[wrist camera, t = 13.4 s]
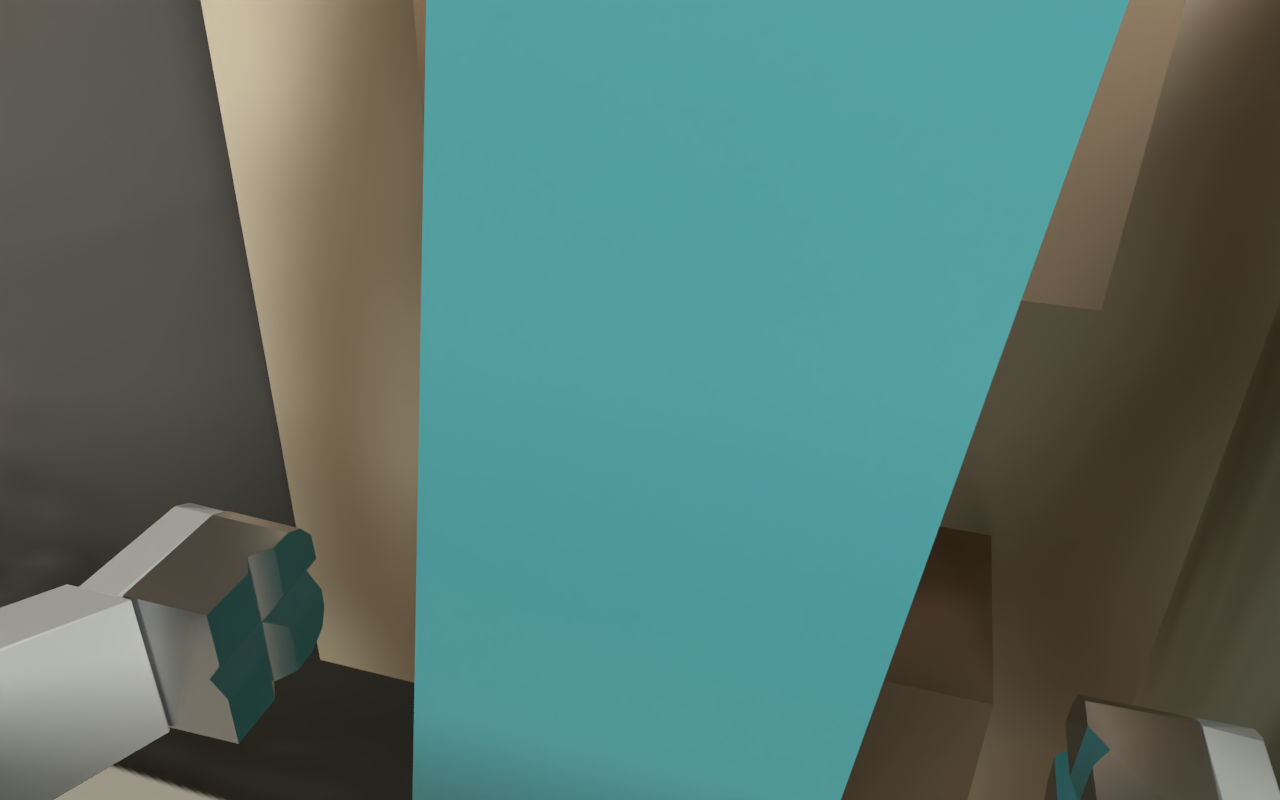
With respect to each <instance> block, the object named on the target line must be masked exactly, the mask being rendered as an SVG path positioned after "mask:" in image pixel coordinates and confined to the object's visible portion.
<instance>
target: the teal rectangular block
mask: <svg viewBox="0 0 1280 800" xmlns="http://www.w3.org/2000/svg"><path fill="white" fill-rule="evenodd" d="M1128 2H1129V0H426V43H425V101H424V159H423V217H422V275H421V333H420V391H419V449H418V507H417V565H416V622H415V680H414V738H413V796H412V800H841V798H842V795H843V793H844V790H845V787H846V784H847V781H848V779H849V776H850V773H851V770H852V768H853V765H854V762H855V759H856V757H857V754H858V751H859V748H860V745H861V743H862V740H863V737H864V734H865V732H866V729H867V726H868V723H869V720H870V718H871V715H872V712H873V709H874V707H875V704H876V701H877V698H878V696H879V693H880V690H881V687H882V684H883V682H884V679H885V676H886V673H887V671H888V668H889V665H890V662H891V659H892V657H893V654H894V651H895V648H896V646H897V643H898V640H899V637H900V635H901V632H902V629H903V626H904V623H905V621H906V618H907V615H908V612H909V610H910V607H911V604H912V601H913V598H914V596H915V593H916V590H917V587H918V585H919V582H920V579H921V576H922V574H923V571H924V568H925V565H926V562H927V560H928V557H929V554H930V551H931V549H932V546H933V543H934V540H935V537H936V535H937V532H938V529H939V526H940V524H941V521H942V518H943V515H944V513H945V510H946V507H947V504H948V501H949V499H950V496H951V493H952V490H953V488H954V485H955V482H956V479H957V477H958V474H959V471H960V468H961V465H962V463H963V460H964V457H965V454H966V452H967V449H968V446H969V443H970V440H971V438H972V435H973V432H974V429H975V427H976V424H977V421H978V418H979V416H980V413H981V410H982V407H983V404H984V402H985V399H986V396H987V393H988V391H989V388H990V385H991V382H992V379H993V377H994V374H995V371H996V368H997V366H998V363H999V360H1000V357H1001V355H1002V352H1003V349H1004V346H1005V343H1006V341H1007V338H1008V335H1009V332H1010V330H1011V327H1012V324H1013V321H1014V318H1015V316H1016V313H1017V310H1018V307H1019V305H1020V302H1021V299H1022V296H1023V294H1024V291H1025V288H1026V285H1027V282H1028V280H1029V277H1030V274H1031V271H1032V269H1033V266H1034V263H1035V260H1036V257H1037V255H1038V252H1039V249H1040V246H1041V244H1042V241H1043V238H1044V235H1045V233H1046V230H1047V227H1048V224H1049V221H1050V219H1051V216H1052V213H1053V210H1054V208H1055V205H1056V202H1057V199H1058V197H1059V194H1060V191H1061V188H1062V185H1063V183H1064V180H1065V177H1066V174H1067V172H1068V169H1069V166H1070V163H1071V160H1072V158H1073V155H1074V152H1075V149H1076V147H1077V144H1078V141H1079V138H1080V136H1081V133H1082V130H1083V127H1084V124H1085V122H1086V119H1087V116H1088V113H1089V111H1090V108H1091V105H1092V102H1093V99H1094V97H1095V94H1096V91H1097V88H1098V86H1099V83H1100V80H1101V77H1102V75H1103V72H1104V69H1105V66H1106V63H1107V61H1108V58H1109V55H1110V52H1111V50H1112V47H1113V44H1114V41H1115V38H1116V36H1117V33H1118V30H1119V27H1120V25H1121V22H1122V19H1123V16H1124V14H1125V11H1126V8H1127V5H1128Z"/></svg>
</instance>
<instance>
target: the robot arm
mask: <svg viewBox="0 0 1280 800" xmlns="http://www.w3.org/2000/svg"><path fill="white" fill-rule="evenodd" d="M315 560H316V555H315V550H314V546H313V541H312V537H311V535H310V534H309V533H307V532H305V531H304V530H302V529H300V528H296V527H292V526H288V525H284V524H280V523H276V522H271V521H267V520H263V519H259V518H255V517H251V516H247V515H242V514H238V513H234V512H230V511H221V510H217V509H213V508H209V507H205V506H201V505H197V504H193V503H186V504H182V505H178V506H175V507H173V508H172V509H171V510H170V511H169V512H167V513H166V514H165V515H164V516H163V517H161V518H160V519H159V520H158V521H157V522H155V523H154V524H153V525H152V526H151V527H150V528H148V529H147V530H146V531H145V532H144V533H142V534H141V535H140V536H139V537H138V538H136V539H135V540H134V541H133V542H132V543H130V544H129V545H128V546H127V547H126V548H125V549H123V550H122V551H121V552H120V553H119V554H117V555H116V556H115V557H114V558H113V559H111V560H110V561H109V562H108V563H107V564H105V565H104V566H103V567H102V568H101V569H99V570H98V571H97V572H96V573H95V574H94V575H92V576H91V577H90V578H89V579H88V580H86V581H85V582H84V583H83V584H82V585H80V586H79V587H77V586H72V585H68V584H66V585H64V586H61V587H58V588H55V589H52V590H49V591H47V592H44V593H41V594H38V595H35V596H32V597H30V598H27V599H24V600H21V601H18V602H15V603H13V604H10V605H7V606H4V607H1V608H0V800H53V799H55V798H57V797H59V796H60V795H62V794H64V793H65V792H67V791H69V790H71V789H72V788H74V787H76V786H77V785H79V784H81V783H83V782H84V781H86V780H88V779H89V778H91V777H93V776H95V775H96V774H98V773H100V772H101V771H103V770H105V769H107V768H108V767H110V766H112V765H113V764H115V763H117V762H119V761H120V760H122V759H124V758H125V757H127V756H129V755H131V754H132V753H134V752H136V751H137V750H139V749H141V748H143V747H144V746H146V745H148V744H149V743H151V742H153V741H155V740H156V739H158V738H160V737H161V736H163V735H165V734H167V733H168V732H169V731H170V729H169V727H170V728H175V729H179V730H183V731H187V732H191V733H195V734H200V735H204V736H208V737H212V738H216V739H220V740H225V741H229V742H233V743H237V744H239V743H240V742H241V740H242V739H243V738H244V737H245V736H246V734H247V733H248V732H249V731H250V729H251V728H252V727H253V726H254V724H255V723H256V722H257V721H258V720H259V718H260V717H261V716H262V715H263V713H264V712H265V711H266V710H267V708H268V707H269V706H270V705H271V704H272V702H273V701H274V700H275V684H274V682H275V681H277V680H279V679H281V678H283V677H285V676H287V675H289V674H291V673H294V672H296V671H298V670H299V669H300V667H301V666H302V665H303V663H304V662H305V661H306V660H307V658H308V657H309V656H310V654H311V653H312V652H313V650H314V647H315V645H316V642H317V640H318V637H319V635H320V632H321V630H322V627H323V617H324V601H323V594H322V589H321V588H320V587H319V586H318V584H317V583H316V582H315V581H314V579H313V578H312V577H311V576H310V574H309V573H308V572H307V570H308V569H309V568H310V566H311V565H312V564H313V562H314V561H315ZM1065 725H1066V738H1067V750H1065V751H1063V752H1062V753H1060V754H1058V755H1056V756H1055V757H1054V760H1053V763H1052V767H1051V770H1050V774H1049V777H1048V781H1047V787H1046V793H1045V799H1044V800H1280V790H1279V787H1278V784H1277V781H1276V778H1275V774H1274V771H1273V768H1272V765H1271V762H1270V759H1269V755H1268V752H1267V749H1266V746H1265V743H1264V740H1263V738H1262V737H1261V736H1260V734H1259V733H1258V732H1257V731H1256V730H1255V729H1252V728H1247V727H1242V726H1237V725H1232V724H1226V723H1221V722H1216V721H1211V720H1206V719H1201V718H1196V717H1195V718H1193V719H1192V718H1190V717H1187V716H1182V715H1178V714H1173V713H1168V712H1163V711H1158V710H1153V709H1148V708H1144V707H1139V706H1134V705H1129V704H1124V703H1119V702H1114V701H1110V700H1105V699H1100V698H1095V697H1090V696H1085V695H1080V694H1078V695H1077V697H1076V699H1075V700H1074V702H1073V703H1072V705H1071V708H1070V711H1069V714H1068V717H1067V720H1066V723H1065Z"/></svg>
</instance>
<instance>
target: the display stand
mask: <svg viewBox="0 0 1280 800" xmlns="http://www.w3.org/2000/svg"><path fill="white" fill-rule="evenodd" d="M201 6H202V11H203V17H204V22H205V28H206V33H207V39H208V44H209V50H210V55H211V61H212V66H213V72H214V77H215V83H216V88H217V94H218V99H219V105H220V110H221V116H222V121H223V127H224V132H225V138H226V143H227V149H228V154H229V160H230V165H231V171H232V176H233V182H234V187H235V193H236V198H237V204H238V209H239V215H240V220H241V226H242V231H243V237H244V242H245V248H246V253H247V259H248V264H249V270H250V276H251V281H252V287H253V292H254V298H255V303H256V309H257V314H258V320H259V325H260V331H261V336H262V342H263V347H264V353H265V358H266V364H267V369H268V375H269V380H270V386H271V391H272V397H273V402H274V408H275V413H276V419H277V424H278V430H279V435H280V441H281V446H282V452H283V457H284V463H285V468H286V474H287V479H288V485H289V490H290V496H291V501H292V507H293V512H294V518H295V523H296V528H300V529H302V530H304V531H305V532H307V533H309V534H310V535H311V537H312V541H313V546H314V550H315V555H316V560H315V561H314V562H313V564H312V565H311V566H310V568H309V569H308V570H307V572H308V573H309V574H310V576H311V577H312V578H313V579H314V581H315V582H316V583H317V584H318V586H319V587H320V588H321V589H322V594H323V601H324V617H323V627H322V630H321V632H320V635H319V637H318V640H317V645H318V650H319V656H320V660H324V661H328V662H332V663H336V664H340V665H344V666H348V667H352V668H356V669H360V670H364V671H368V672H373V673H377V674H381V675H385V676H389V677H393V678H397V679H401V680H405V681H409V682H413V683H414V680H415V622H416V565H417V507H418V449H419V391H420V333H421V275H422V217H423V159H424V101H425V43H426V0H201ZM1078 694H1080V695H1085V696H1090V697H1095V698H1100V699H1105V700H1110V701H1114V702H1119V703H1124V704H1129V705H1134V706H1139V707H1144V708H1148V709H1153V710H1158V711H1163V712H1168V713H1173V714H1178V715H1182V716H1187V717H1190V718H1192V719H1193V718H1195V717H1196V718H1201V719H1206V720H1211V721H1216V722H1221V723H1226V724H1232V725H1237V726H1242V727H1247V728H1252V729H1255V730H1256V731H1257V732H1258V733H1259V734H1260V736H1261V737H1262V738H1263V740H1264V743H1265V746H1266V749H1267V752H1268V755H1269V759H1270V762H1271V765H1272V768H1273V771H1274V774H1275V778H1276V781H1277V784H1278V787H1279V790H1280V0H1129V2H1128V5H1127V8H1126V11H1125V14H1124V16H1123V19H1122V22H1121V25H1120V27H1119V30H1118V33H1117V36H1116V38H1115V41H1114V44H1113V47H1112V50H1111V52H1110V55H1109V58H1108V61H1107V63H1106V66H1105V69H1104V72H1103V75H1102V77H1101V80H1100V83H1099V86H1098V88H1097V91H1096V94H1095V97H1094V99H1093V102H1092V105H1091V108H1090V111H1089V113H1088V116H1087V119H1086V122H1085V124H1084V127H1083V130H1082V133H1081V136H1080V138H1079V141H1078V144H1077V147H1076V149H1075V152H1074V155H1073V158H1072V160H1071V163H1070V166H1069V169H1068V172H1067V174H1066V177H1065V180H1064V183H1063V185H1062V188H1061V191H1060V194H1059V197H1058V199H1057V202H1056V205H1055V208H1054V210H1053V213H1052V216H1051V219H1050V221H1049V224H1048V227H1047V230H1046V233H1045V235H1044V238H1043V241H1042V244H1041V246H1040V249H1039V252H1038V255H1037V257H1036V260H1035V263H1034V266H1033V269H1032V271H1031V274H1030V277H1029V280H1028V282H1027V285H1026V288H1025V291H1024V294H1023V296H1022V299H1021V302H1020V305H1019V307H1018V310H1017V313H1016V316H1015V318H1014V321H1013V324H1012V327H1011V330H1010V332H1009V335H1008V338H1007V341H1006V343H1005V346H1004V349H1003V352H1002V355H1001V357H1000V360H999V363H998V366H997V368H996V371H995V374H994V377H993V379H992V382H991V385H990V388H989V391H988V393H987V396H986V399H985V402H984V404H983V407H982V410H981V413H980V416H979V418H978V421H977V424H976V427H975V429H974V432H973V435H972V438H971V440H970V443H969V446H968V449H967V452H966V454H965V457H964V460H963V463H962V465H961V468H960V471H959V474H958V477H957V479H956V482H955V485H954V488H953V490H952V493H951V496H950V499H949V501H948V504H947V507H946V510H945V513H944V515H943V518H942V521H941V524H940V526H939V529H938V532H937V535H936V537H935V540H934V543H933V546H932V549H931V551H930V554H929V557H928V560H927V562H926V565H925V568H924V571H923V574H922V576H921V579H920V582H919V585H918V587H917V590H916V593H915V596H914V598H913V601H912V604H911V607H910V610H909V612H908V615H907V618H906V621H905V623H904V626H903V629H902V632H901V635H900V637H899V640H898V643H897V646H896V648H895V651H894V654H893V657H892V659H891V662H890V665H889V668H888V671H887V673H886V676H885V679H884V682H883V684H882V687H881V690H880V693H879V696H878V698H877V701H876V704H875V707H874V709H873V712H872V715H871V718H870V720H869V723H868V726H867V729H866V732H865V734H864V737H863V740H862V743H861V745H860V748H859V751H858V754H857V757H856V759H855V762H854V765H853V768H852V770H851V773H850V776H849V779H848V781H847V784H846V787H845V790H844V793H843V795H842V798H841V800H1044V799H1045V793H1046V787H1047V781H1048V777H1049V774H1050V770H1051V767H1052V763H1053V760H1054V757H1055V756H1056V755H1058V754H1060V753H1062V752H1063V751H1065V750H1067V738H1066V725H1065V723H1066V720H1067V717H1068V714H1069V711H1070V708H1071V705H1072V703H1073V702H1074V700H1075V699H1076V697H1077V695H1078Z"/></svg>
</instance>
